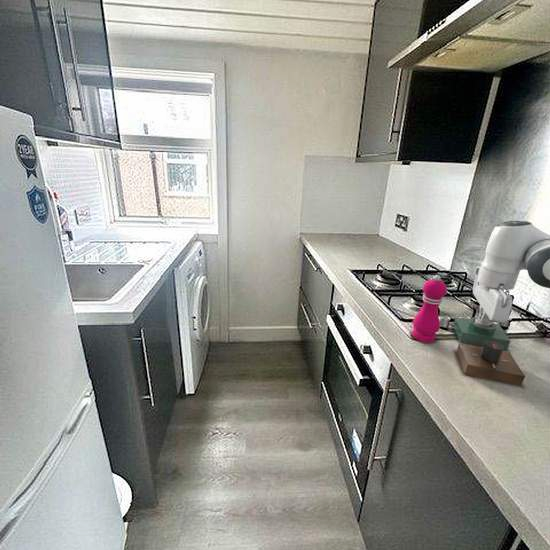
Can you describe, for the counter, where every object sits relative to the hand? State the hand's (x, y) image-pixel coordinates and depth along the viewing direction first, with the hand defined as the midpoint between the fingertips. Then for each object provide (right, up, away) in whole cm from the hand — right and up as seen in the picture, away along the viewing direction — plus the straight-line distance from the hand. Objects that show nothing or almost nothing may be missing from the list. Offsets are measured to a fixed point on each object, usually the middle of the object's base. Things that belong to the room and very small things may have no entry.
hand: (482, 321), depth 90 cm
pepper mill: (-17, -5, +1) cm, 18 cm away
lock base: (-7, -10, -12) cm, 17 cm away
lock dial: (-7, -7, -13) cm, 16 cm away
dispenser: (0, -5, +2) cm, 6 cm away
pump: (0, -2, +1) cm, 2 cm away
